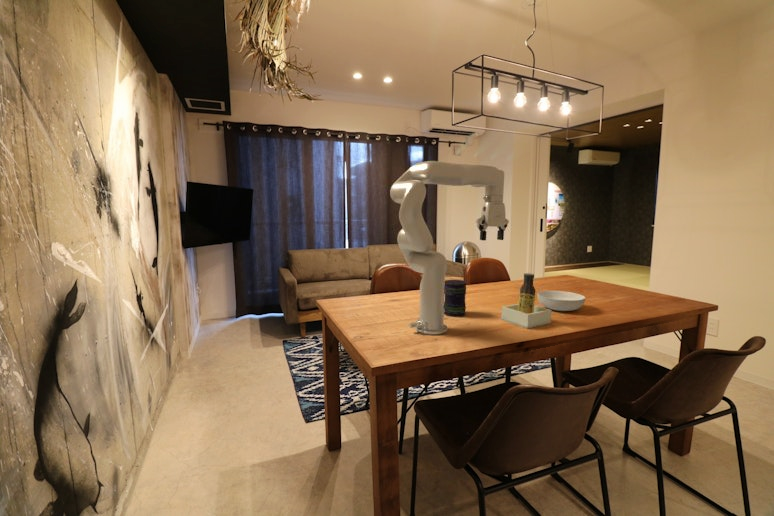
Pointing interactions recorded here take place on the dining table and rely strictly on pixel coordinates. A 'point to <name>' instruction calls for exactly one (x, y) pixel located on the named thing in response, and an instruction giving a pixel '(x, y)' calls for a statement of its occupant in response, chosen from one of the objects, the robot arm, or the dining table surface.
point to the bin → (526, 316)
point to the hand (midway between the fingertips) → (491, 240)
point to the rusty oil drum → (454, 298)
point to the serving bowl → (560, 300)
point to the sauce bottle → (527, 295)
